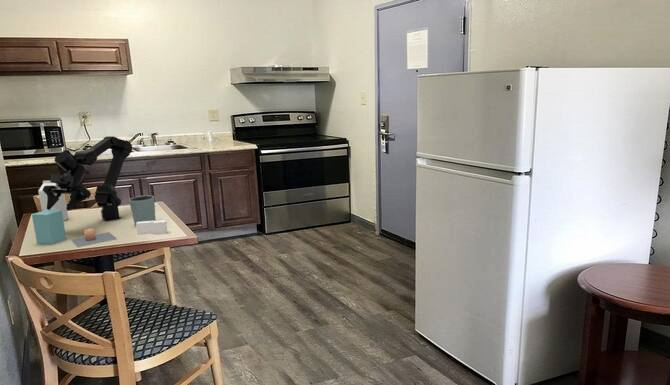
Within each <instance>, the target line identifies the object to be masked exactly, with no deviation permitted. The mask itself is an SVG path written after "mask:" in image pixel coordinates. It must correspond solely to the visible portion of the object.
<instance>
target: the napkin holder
mask: <svg viewBox="0 0 670 385" xmlns="http://www.w3.org/2000/svg"><path fill="white" fill-rule="evenodd" d="M135 227H136V228H135V229H136V234H137V235H145V234H146V235H147V234H150V235H151V234H152V235H163V234H167V233H168V224H167V220H156V221H154V220H153V221H142V222H137V223H136V226H135Z"/></svg>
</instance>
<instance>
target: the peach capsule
mask: <svg viewBox="0 0 670 385" xmlns="http://www.w3.org/2000/svg"><path fill="white" fill-rule="evenodd" d="M83 232H84V237H85V240H86V241H91V240H95V239H96V236H95V235H96V231H95V228H93V227H90V228H89V227H88V228H86V229H84V230H83Z"/></svg>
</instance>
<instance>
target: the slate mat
mask: <svg viewBox="0 0 670 385" xmlns="http://www.w3.org/2000/svg"><path fill="white" fill-rule="evenodd" d="M95 236H96V239H95V240H91V241H86V240H85V236H84V237H78V238H72V239H70V240H71V242H72V243H73V244H74V245H75V246H76V247H77V248H81V247H86V246H90V245H94V244H101V243H105V242H109V241H115V240H118V238H117V237H116V236H114V235H113V233H111V232H110V231H108V232H103V233H98V234H95Z"/></svg>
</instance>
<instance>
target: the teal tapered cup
mask: <svg viewBox="0 0 670 385" xmlns="http://www.w3.org/2000/svg"><path fill="white" fill-rule="evenodd" d="M155 201H156V200H155V196H154V195H146V194H145V195H139V196H134V197H131V198H129V199H128V202H129V206H130V210H131V214H132V218H133V223H134V226H135V227H136V223H137V222H142V221H153V220H154V221H157V220H156V208H155V207H156V205H155Z"/></svg>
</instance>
